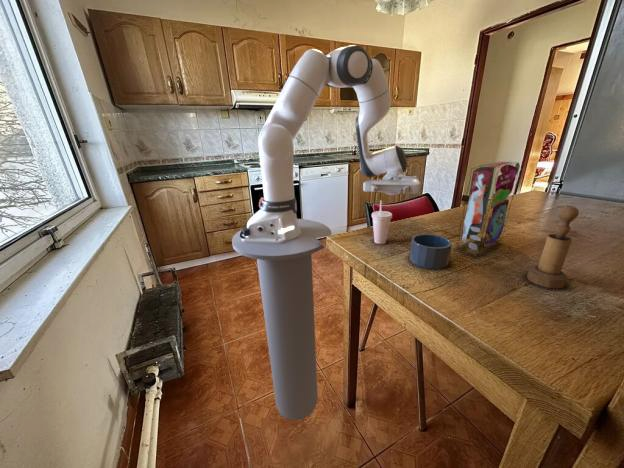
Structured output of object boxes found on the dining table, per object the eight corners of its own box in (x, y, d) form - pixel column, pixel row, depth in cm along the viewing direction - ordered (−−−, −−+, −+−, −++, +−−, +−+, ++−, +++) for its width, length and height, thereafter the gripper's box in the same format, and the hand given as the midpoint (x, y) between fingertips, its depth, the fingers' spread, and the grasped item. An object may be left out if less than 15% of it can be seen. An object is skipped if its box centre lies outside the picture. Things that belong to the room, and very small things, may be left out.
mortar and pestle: (540, 272, 63) (564, 201, 57) (571, 286, 57) (602, 208, 51) (519, 276, 62) (541, 204, 55) (549, 291, 56) (577, 212, 49)
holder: (417, 269, 67) (419, 248, 64) (404, 253, 76) (406, 234, 74) (455, 268, 67) (459, 247, 64) (438, 252, 76) (441, 233, 73)
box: (492, 231, 89) (509, 158, 80) (513, 236, 84) (533, 159, 75) (455, 251, 76) (470, 166, 67) (477, 258, 71) (497, 168, 62)
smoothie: (366, 239, 86) (368, 199, 81) (382, 236, 88) (385, 197, 83) (377, 247, 81) (379, 203, 75) (394, 243, 82) (398, 201, 77)
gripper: (366, 175, 104) (359, 181, 92) (421, 175, 96) (420, 182, 84) (366, 190, 106) (358, 198, 94) (419, 192, 99) (418, 201, 87)
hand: (388, 191), depth 89 cm, fingers open, 8 cm apart
